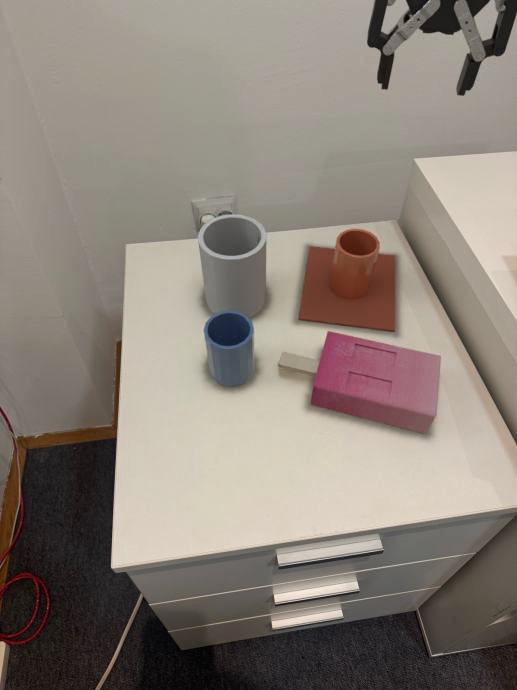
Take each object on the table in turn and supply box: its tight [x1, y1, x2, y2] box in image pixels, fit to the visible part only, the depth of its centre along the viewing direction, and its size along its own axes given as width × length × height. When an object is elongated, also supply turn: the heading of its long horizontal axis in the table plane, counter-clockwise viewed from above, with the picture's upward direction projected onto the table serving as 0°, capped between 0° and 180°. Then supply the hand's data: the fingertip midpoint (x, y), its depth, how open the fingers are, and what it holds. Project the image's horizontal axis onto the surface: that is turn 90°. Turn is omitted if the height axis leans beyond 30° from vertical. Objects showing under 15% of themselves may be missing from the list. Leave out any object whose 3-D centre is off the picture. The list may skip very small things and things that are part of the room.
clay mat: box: [298, 245, 396, 333], centre depth 76 cm, size 14×16×1 cm
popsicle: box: [277, 330, 442, 434], centre depth 63 cm, size 9×5×20 cm
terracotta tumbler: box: [330, 228, 381, 299], centre depth 72 cm, size 6×6×8 cm
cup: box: [197, 213, 267, 318], centre depth 70 cm, size 9×9×12 cm
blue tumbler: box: [203, 310, 255, 388], centre depth 63 cm, size 6×6×8 cm
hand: (422, 89), depth 56 cm, fingers open, 8 cm apart
